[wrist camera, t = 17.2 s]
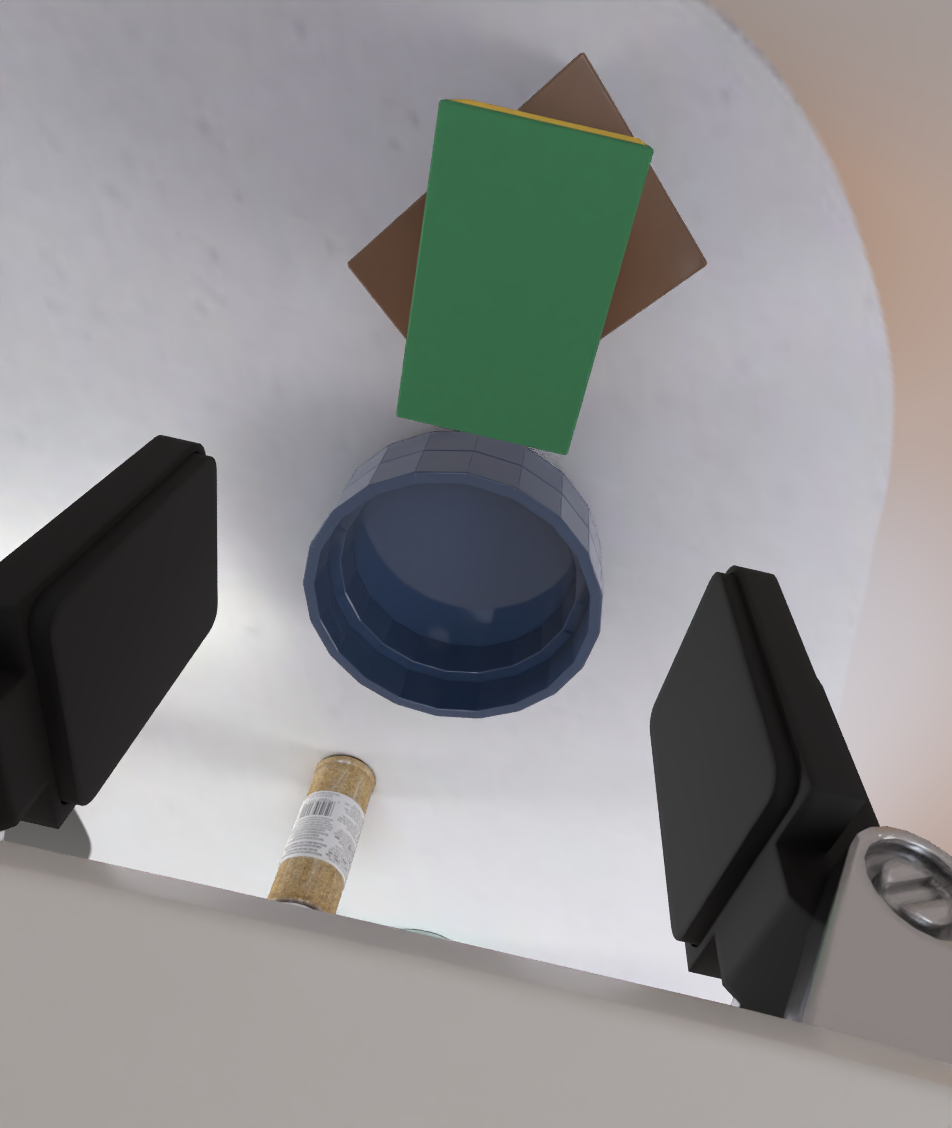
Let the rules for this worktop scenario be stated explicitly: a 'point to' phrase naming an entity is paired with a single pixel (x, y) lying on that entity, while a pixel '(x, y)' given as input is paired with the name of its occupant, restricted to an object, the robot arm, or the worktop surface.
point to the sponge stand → (653, 247)
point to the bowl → (457, 576)
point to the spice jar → (324, 836)
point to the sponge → (516, 271)
